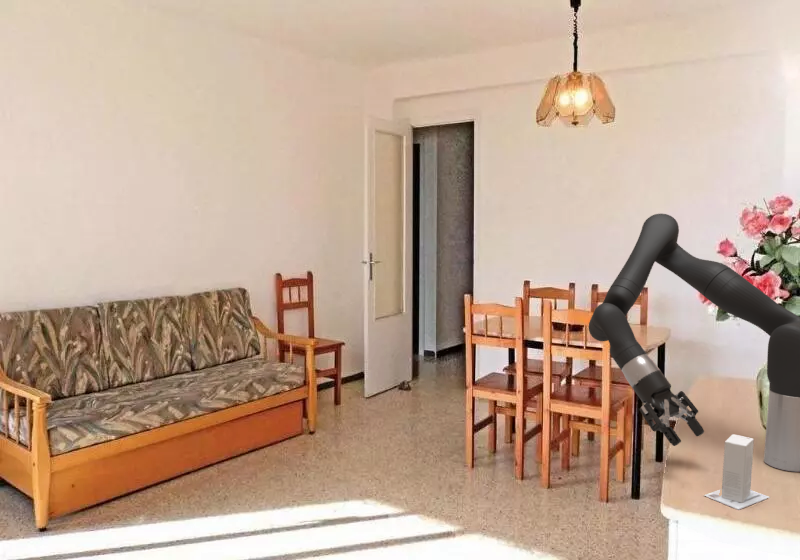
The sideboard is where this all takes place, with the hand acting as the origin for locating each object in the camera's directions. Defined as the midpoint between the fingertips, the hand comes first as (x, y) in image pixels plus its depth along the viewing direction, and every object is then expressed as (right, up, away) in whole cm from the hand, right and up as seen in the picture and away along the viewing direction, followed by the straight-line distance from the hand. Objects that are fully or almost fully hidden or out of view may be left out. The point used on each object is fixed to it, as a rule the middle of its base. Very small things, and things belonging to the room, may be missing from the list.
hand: (689, 439), depth 151 cm
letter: (+5, -9, -11) cm, 15 cm away
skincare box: (+5, -9, -11) cm, 15 cm away
